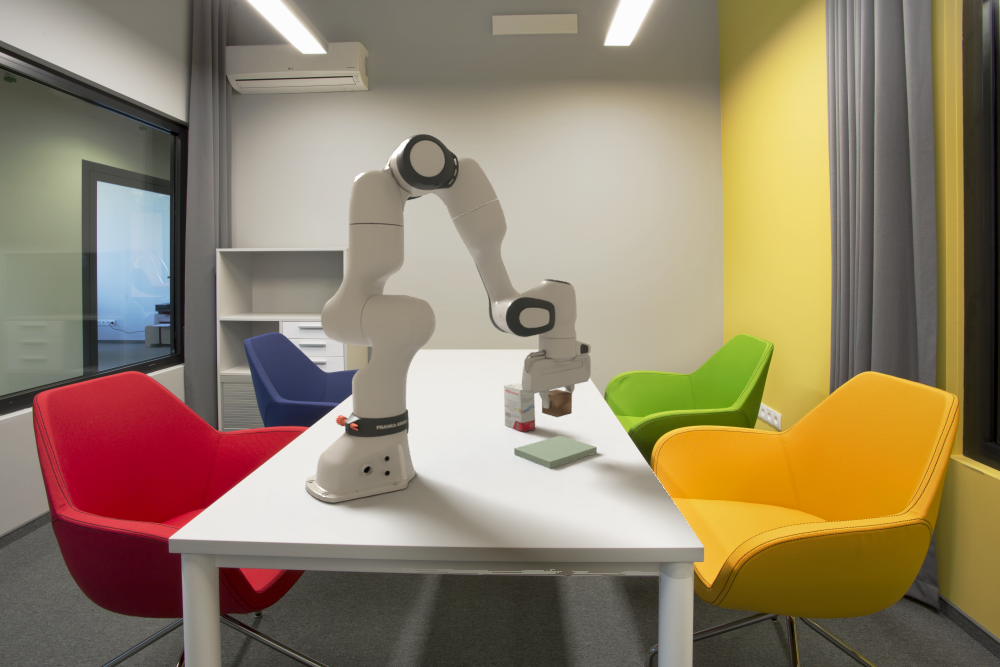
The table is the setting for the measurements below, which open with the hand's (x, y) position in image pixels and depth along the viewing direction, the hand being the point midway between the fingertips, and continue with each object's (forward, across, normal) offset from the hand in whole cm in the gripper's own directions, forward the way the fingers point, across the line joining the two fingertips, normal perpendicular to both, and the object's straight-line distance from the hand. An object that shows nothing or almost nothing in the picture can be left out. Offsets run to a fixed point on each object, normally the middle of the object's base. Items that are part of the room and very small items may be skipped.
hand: (556, 405), depth 129 cm
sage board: (+12, -1, 0) cm, 12 cm away
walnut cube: (+2, 0, 0) cm, 2 cm away
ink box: (+12, +8, +22) cm, 26 cm away
